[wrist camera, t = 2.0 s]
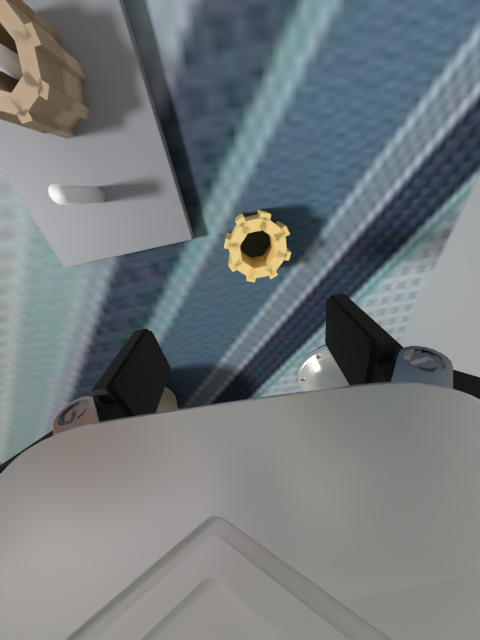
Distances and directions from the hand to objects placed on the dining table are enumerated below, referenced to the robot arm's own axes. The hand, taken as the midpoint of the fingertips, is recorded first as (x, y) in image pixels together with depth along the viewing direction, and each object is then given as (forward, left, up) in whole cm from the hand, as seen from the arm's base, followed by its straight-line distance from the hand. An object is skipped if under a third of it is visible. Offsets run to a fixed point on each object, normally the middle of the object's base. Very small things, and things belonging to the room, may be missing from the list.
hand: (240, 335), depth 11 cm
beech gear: (+13, -17, -16) cm, 27 cm away
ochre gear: (-2, -1, -17) cm, 17 cm away
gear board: (+13, -13, -17) cm, 25 cm away
